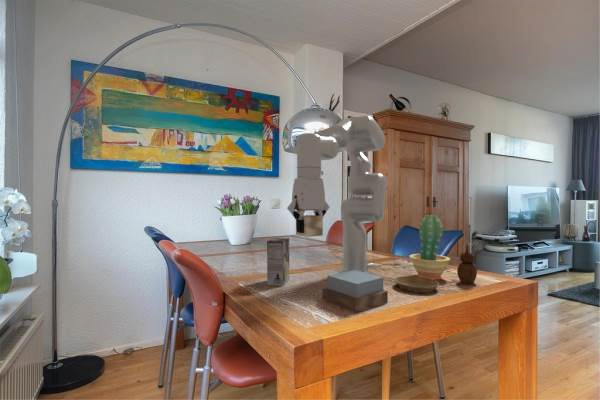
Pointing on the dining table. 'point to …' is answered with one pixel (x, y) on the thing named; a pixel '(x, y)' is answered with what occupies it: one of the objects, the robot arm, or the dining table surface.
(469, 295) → the dining table surface
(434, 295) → the dining table surface
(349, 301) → the tower bottom
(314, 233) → the maple cube
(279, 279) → the coffee box
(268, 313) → the dining table surface
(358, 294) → the tower top
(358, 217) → the robot arm
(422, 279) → the plant saucer
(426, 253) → the potted cactus
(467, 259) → the wooden figurine
